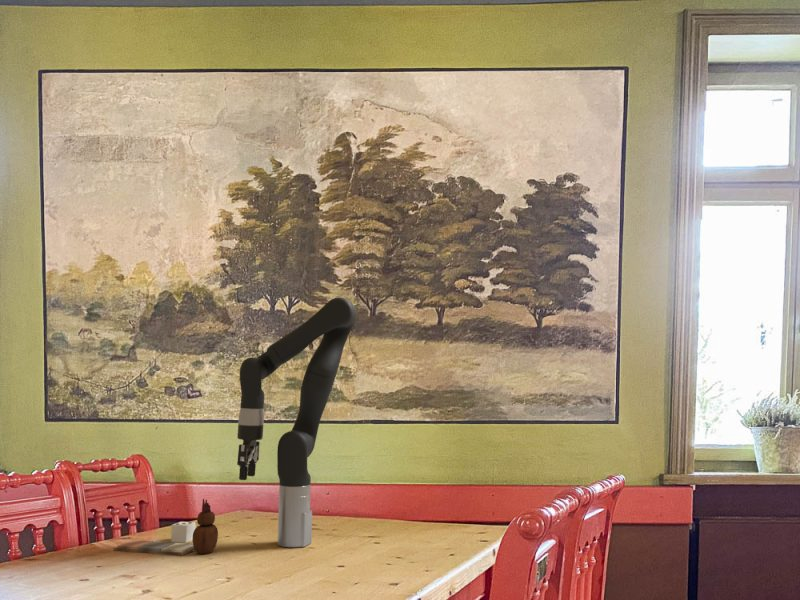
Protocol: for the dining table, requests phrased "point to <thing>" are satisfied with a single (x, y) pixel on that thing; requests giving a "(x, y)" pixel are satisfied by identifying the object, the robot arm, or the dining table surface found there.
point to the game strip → (156, 547)
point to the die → (182, 532)
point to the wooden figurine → (205, 531)
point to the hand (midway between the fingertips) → (247, 477)
